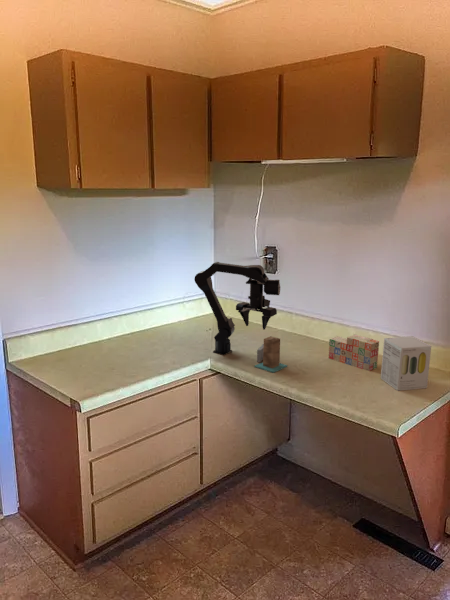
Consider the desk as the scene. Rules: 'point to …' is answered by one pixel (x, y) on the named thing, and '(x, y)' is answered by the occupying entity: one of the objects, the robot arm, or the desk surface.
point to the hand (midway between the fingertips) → (255, 327)
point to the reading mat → (271, 368)
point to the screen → (260, 354)
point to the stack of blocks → (355, 351)
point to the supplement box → (405, 363)
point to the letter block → (271, 352)
